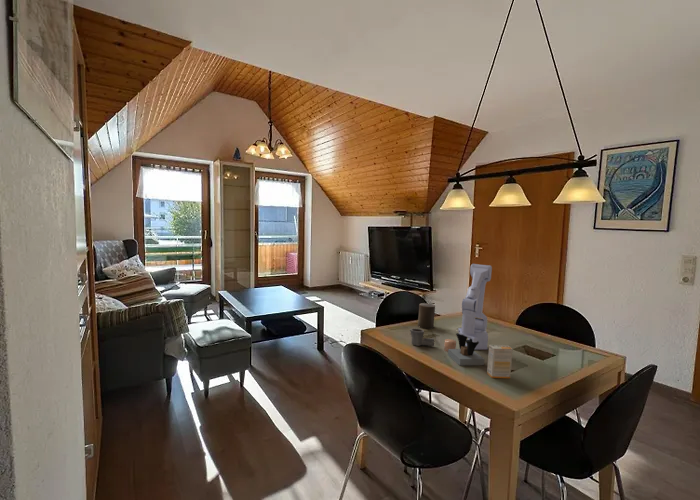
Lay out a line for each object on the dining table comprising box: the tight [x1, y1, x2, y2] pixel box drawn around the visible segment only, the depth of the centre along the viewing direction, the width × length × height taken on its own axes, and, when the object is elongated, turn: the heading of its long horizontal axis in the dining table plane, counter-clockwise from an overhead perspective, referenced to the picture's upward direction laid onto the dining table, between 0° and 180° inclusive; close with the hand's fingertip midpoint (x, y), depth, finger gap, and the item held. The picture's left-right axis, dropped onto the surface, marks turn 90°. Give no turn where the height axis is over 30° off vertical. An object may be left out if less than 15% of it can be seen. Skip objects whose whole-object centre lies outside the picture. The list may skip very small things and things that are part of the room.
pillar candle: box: [417, 302, 436, 330], centre depth 209 cm, size 10×10×15 cm
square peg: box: [460, 345, 471, 356], centre depth 160 cm, size 3×3×6 cm
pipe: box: [409, 328, 435, 347], centre depth 176 cm, size 6×13×8 cm, turn 78°
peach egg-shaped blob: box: [443, 338, 457, 353], centre depth 171 cm, size 6×6×5 cm
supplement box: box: [486, 344, 514, 379], centre depth 144 cm, size 8×5×13 cm, turn 92°
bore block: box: [447, 348, 485, 367], centre depth 160 cm, size 12×12×3 cm
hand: (465, 351), depth 160 cm, fingers open, 7 cm apart
